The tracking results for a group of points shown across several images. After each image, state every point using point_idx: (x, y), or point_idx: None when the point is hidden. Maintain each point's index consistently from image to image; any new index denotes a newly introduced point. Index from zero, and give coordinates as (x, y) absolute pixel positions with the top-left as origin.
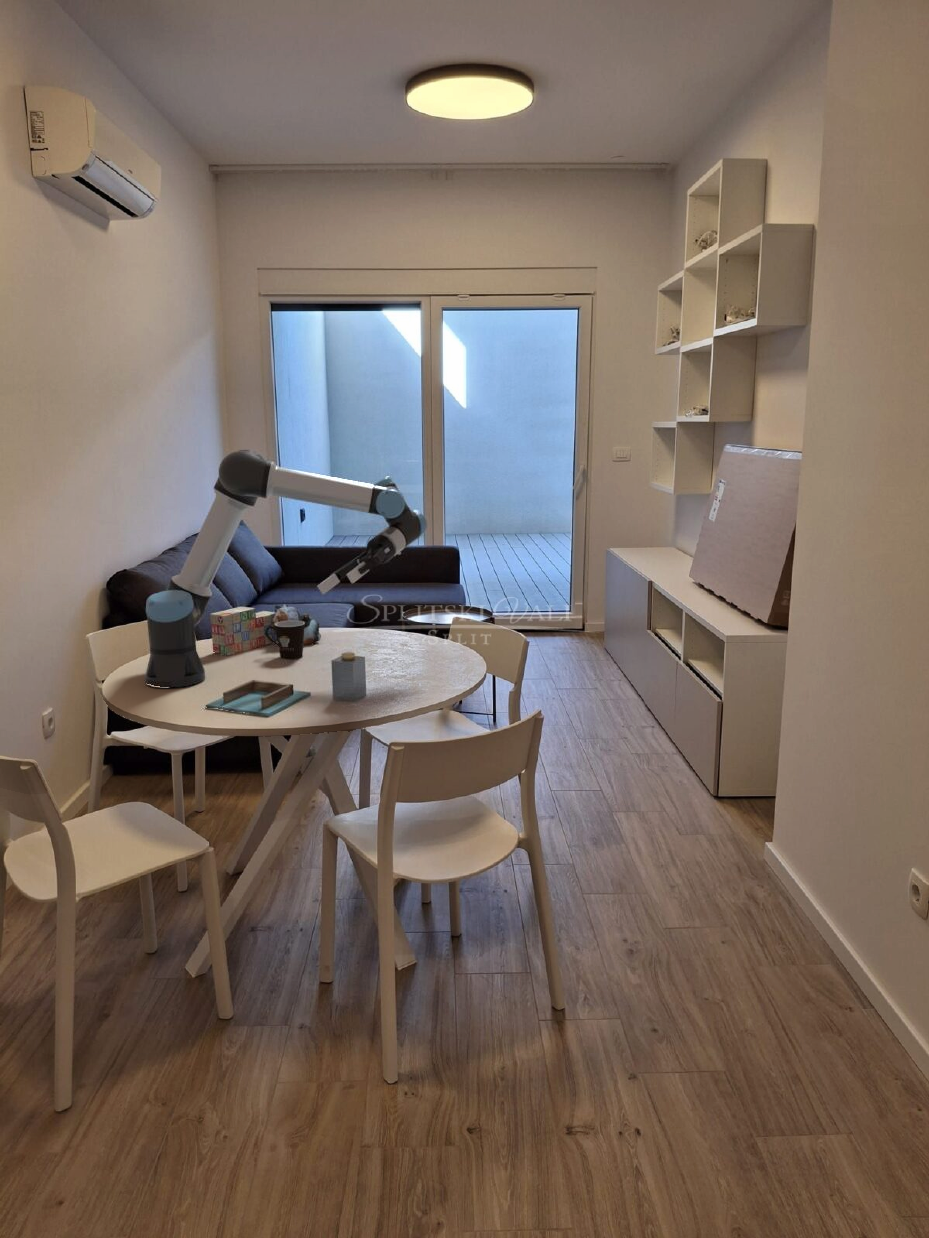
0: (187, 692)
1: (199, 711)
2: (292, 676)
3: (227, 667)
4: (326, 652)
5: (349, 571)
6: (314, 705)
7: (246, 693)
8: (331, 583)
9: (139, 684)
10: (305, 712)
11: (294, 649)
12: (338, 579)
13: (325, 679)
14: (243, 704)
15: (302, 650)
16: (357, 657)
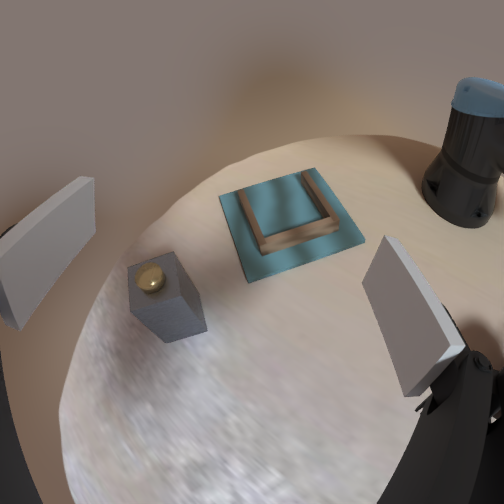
0: (397, 183)
1: (307, 163)
2: None
3: (495, 274)
4: None
5: (402, 479)
6: (202, 258)
7: (320, 212)
8: (397, 322)
9: None
10: (191, 234)
11: None
12: (416, 384)
13: (314, 364)
14: (278, 192)
15: (498, 414)
16: (140, 298)
